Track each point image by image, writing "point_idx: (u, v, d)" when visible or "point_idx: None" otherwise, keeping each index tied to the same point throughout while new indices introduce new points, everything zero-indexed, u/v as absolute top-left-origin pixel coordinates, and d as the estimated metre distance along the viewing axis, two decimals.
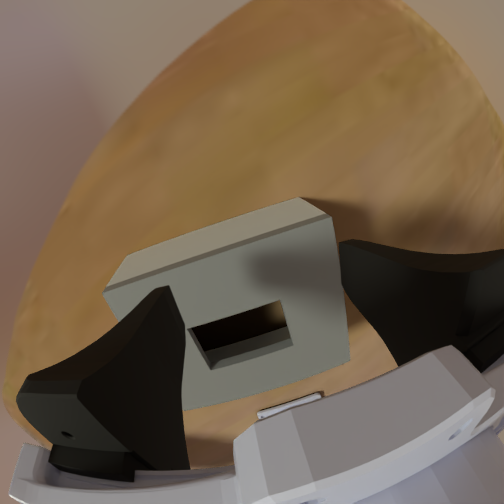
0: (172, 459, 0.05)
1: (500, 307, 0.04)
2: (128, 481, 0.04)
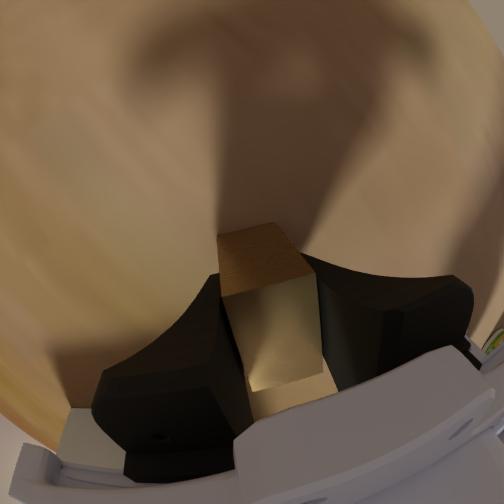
0: None
1: (445, 344, 0.04)
2: None
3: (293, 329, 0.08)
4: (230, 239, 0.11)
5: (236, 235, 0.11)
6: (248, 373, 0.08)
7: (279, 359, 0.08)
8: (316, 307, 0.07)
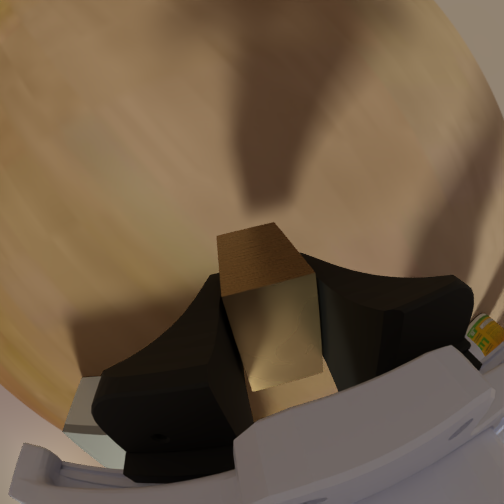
0: None
1: (445, 344, 0.04)
2: None
3: (293, 329, 0.08)
4: (230, 239, 0.11)
5: (236, 235, 0.11)
6: (248, 373, 0.08)
7: (279, 359, 0.08)
8: (316, 307, 0.07)
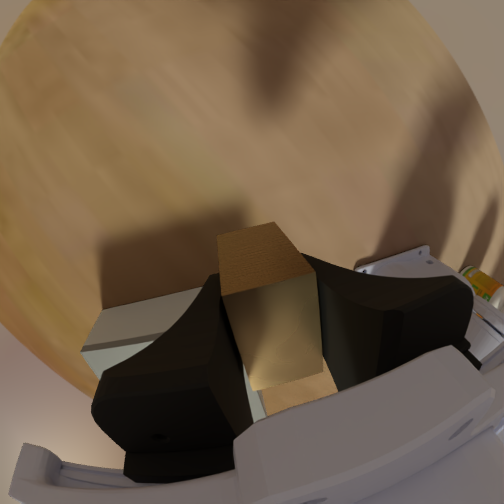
0: None
1: (445, 344, 0.04)
2: None
3: (293, 328, 0.08)
4: (230, 238, 0.11)
5: (236, 234, 0.11)
6: (248, 372, 0.08)
7: (279, 358, 0.08)
8: (316, 306, 0.07)
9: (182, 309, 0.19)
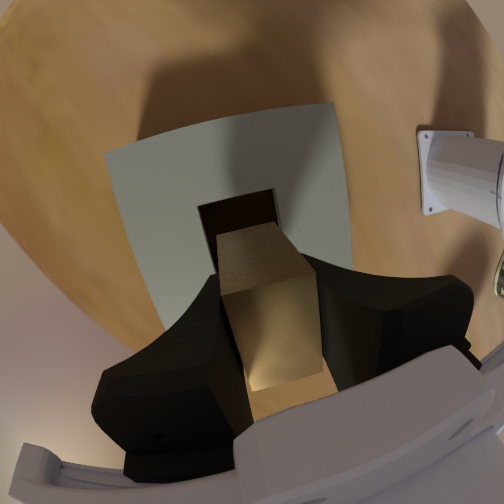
0: None
1: (445, 344, 0.04)
2: None
3: (293, 329, 0.08)
4: (230, 238, 0.11)
5: (236, 234, 0.11)
6: (248, 372, 0.08)
7: (279, 358, 0.08)
8: (316, 306, 0.07)
9: None
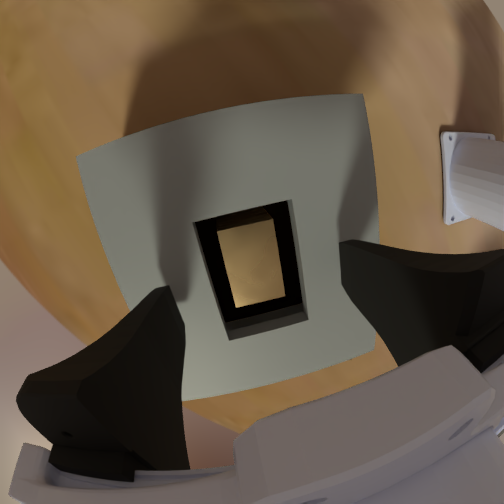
0: (172, 459, 0.05)
1: (500, 307, 0.04)
2: (128, 481, 0.04)
3: (261, 257, 0.12)
4: None
5: None
6: (232, 290, 0.13)
7: (253, 280, 0.13)
8: (275, 242, 0.12)
9: None
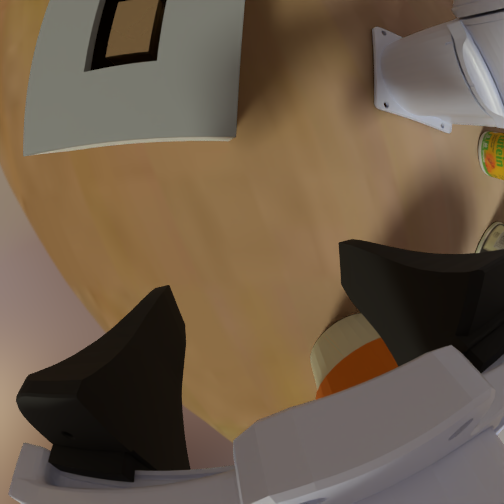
0: (172, 459, 0.05)
1: (500, 307, 0.04)
2: (128, 481, 0.04)
3: (140, 19, 0.09)
4: None
5: None
6: (109, 41, 0.10)
7: (127, 34, 0.10)
8: (155, 10, 0.09)
9: None
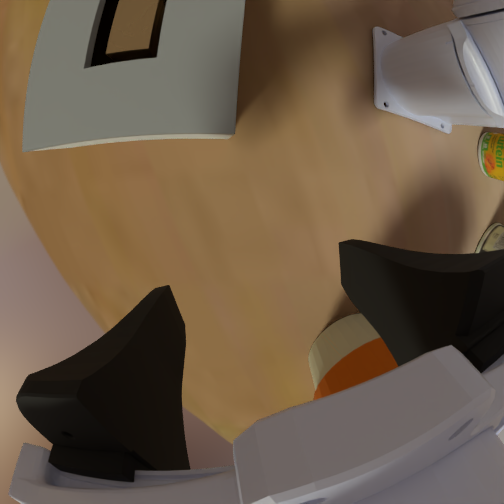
0: (172, 459, 0.05)
1: (500, 307, 0.04)
2: (128, 481, 0.04)
3: (141, 16, 0.09)
4: None
5: None
6: (109, 38, 0.10)
7: (127, 31, 0.10)
8: (155, 7, 0.09)
9: None
